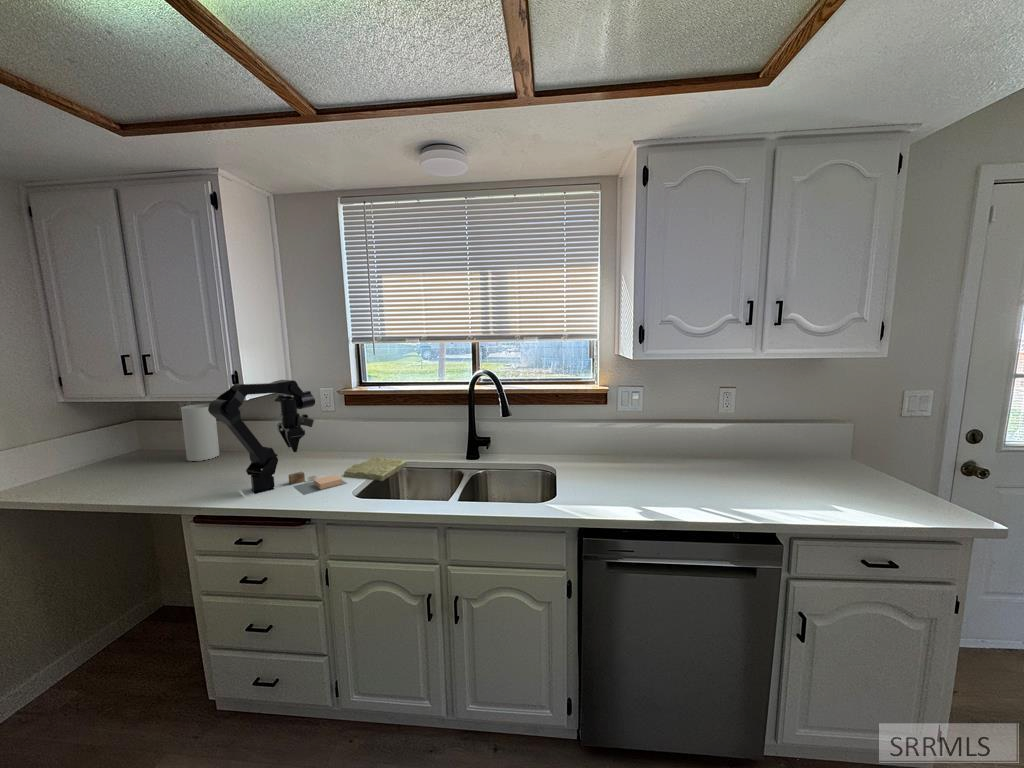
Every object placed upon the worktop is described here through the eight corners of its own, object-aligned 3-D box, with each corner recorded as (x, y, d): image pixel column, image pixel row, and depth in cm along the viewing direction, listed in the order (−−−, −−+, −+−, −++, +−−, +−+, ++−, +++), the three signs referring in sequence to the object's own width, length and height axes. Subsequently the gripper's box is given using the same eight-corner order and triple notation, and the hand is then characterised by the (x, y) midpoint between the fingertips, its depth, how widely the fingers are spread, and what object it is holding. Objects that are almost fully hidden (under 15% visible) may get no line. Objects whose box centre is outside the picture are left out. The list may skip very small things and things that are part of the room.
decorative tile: (407, 466, 183) (407, 458, 182) (382, 482, 163) (382, 473, 163) (369, 463, 187) (369, 455, 187) (341, 478, 168) (341, 470, 167)
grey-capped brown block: (292, 487, 158) (291, 476, 157) (288, 483, 162) (287, 473, 161) (319, 480, 165) (318, 470, 164) (314, 477, 168) (314, 467, 168)
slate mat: (303, 496, 149) (303, 494, 149) (293, 487, 157) (292, 486, 157) (347, 484, 160) (347, 483, 160) (335, 477, 168) (335, 475, 168)
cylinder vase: (204, 453, 203) (198, 403, 200) (226, 454, 201) (221, 404, 198) (179, 461, 191) (173, 408, 188) (203, 462, 189) (197, 408, 186)
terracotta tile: (320, 484, 153) (341, 478, 158) (313, 479, 158) (334, 474, 163) (320, 489, 153) (342, 484, 159) (314, 485, 158) (335, 479, 164)
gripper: (317, 412, 162) (320, 450, 164) (304, 405, 176) (307, 441, 178) (286, 416, 154) (289, 456, 156) (275, 409, 168) (278, 446, 171)
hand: (292, 449), depth 165 cm, fingers open, 9 cm apart
